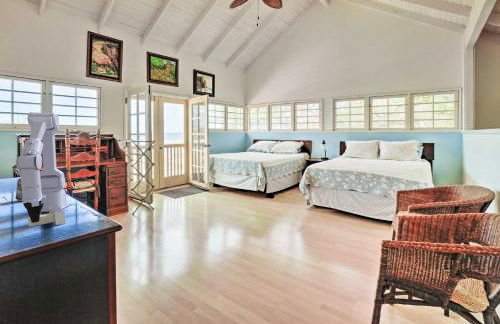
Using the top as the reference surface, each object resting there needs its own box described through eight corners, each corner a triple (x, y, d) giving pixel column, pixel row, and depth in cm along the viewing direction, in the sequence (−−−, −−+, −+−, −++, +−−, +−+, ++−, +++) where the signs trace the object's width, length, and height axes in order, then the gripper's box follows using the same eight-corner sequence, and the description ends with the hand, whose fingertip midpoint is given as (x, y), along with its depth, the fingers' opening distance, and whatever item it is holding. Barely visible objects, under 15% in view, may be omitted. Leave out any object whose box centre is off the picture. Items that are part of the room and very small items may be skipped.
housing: (49, 217, 113) (48, 206, 112) (58, 215, 115) (57, 204, 114) (56, 225, 103) (55, 213, 102) (65, 223, 105) (64, 211, 104)
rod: (29, 226, 102) (28, 219, 101) (28, 224, 104) (27, 217, 103) (64, 220, 109) (63, 212, 109) (62, 218, 111) (62, 211, 111)
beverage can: (15, 200, 140) (13, 177, 139) (33, 198, 146) (31, 176, 144) (16, 202, 136) (13, 179, 135) (34, 200, 141) (32, 177, 140)
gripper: (47, 187, 100) (50, 222, 101) (41, 182, 110) (44, 214, 112) (23, 190, 95) (26, 227, 96) (19, 184, 105) (22, 218, 107)
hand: (34, 221), depth 104 cm, fingers closed on rod, 3 cm apart
